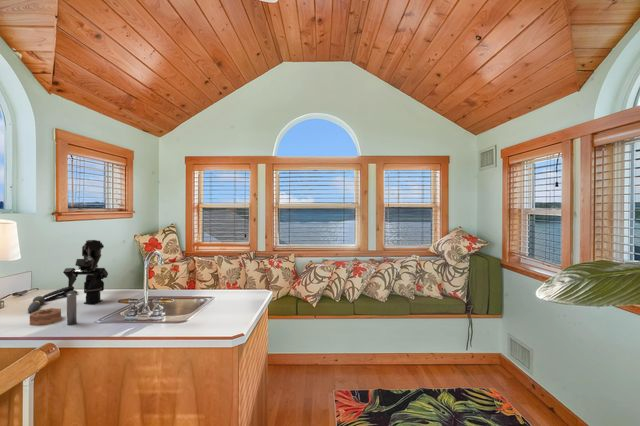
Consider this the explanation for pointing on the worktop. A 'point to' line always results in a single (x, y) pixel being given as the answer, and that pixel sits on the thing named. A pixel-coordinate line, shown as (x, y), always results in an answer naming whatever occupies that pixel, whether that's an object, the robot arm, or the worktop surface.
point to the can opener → (61, 291)
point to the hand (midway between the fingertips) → (79, 287)
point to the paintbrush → (36, 303)
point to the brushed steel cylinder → (71, 309)
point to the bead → (45, 316)
